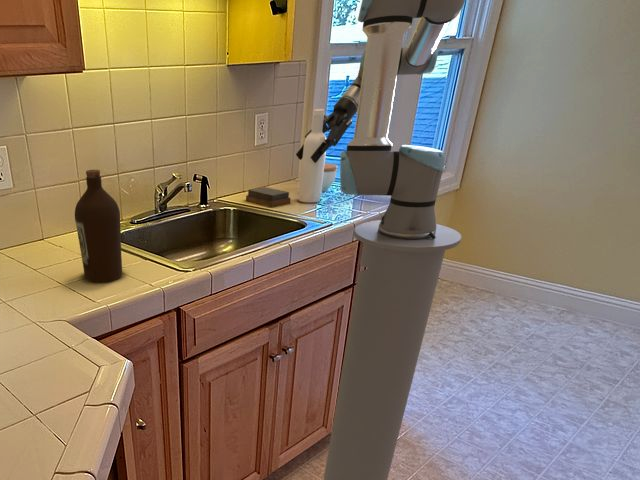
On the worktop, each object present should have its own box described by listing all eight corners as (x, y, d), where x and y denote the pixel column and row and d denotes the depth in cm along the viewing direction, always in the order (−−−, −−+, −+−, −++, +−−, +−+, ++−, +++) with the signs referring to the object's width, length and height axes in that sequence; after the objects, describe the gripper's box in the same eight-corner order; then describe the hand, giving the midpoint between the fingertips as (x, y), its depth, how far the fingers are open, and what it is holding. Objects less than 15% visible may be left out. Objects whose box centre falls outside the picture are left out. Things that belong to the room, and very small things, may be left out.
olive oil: (120, 266, 130) (112, 165, 118) (128, 280, 122) (120, 172, 109) (80, 271, 128) (66, 169, 116) (85, 286, 119) (71, 176, 107)
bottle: (312, 196, 188) (322, 108, 173) (324, 201, 182) (336, 109, 167) (293, 199, 186) (302, 109, 171) (305, 203, 180) (315, 110, 165)
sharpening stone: (290, 203, 182) (291, 192, 180) (271, 207, 178) (272, 195, 176) (263, 197, 193) (264, 186, 191) (245, 200, 189) (246, 189, 187)
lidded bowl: (329, 185, 205) (332, 157, 200) (339, 192, 194) (343, 162, 189) (298, 187, 205) (301, 158, 200) (306, 193, 194) (309, 163, 189)
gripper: (375, 113, 166) (329, 170, 169) (334, 110, 183) (293, 162, 186) (365, 96, 162) (318, 154, 165) (324, 95, 179) (282, 148, 182)
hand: (305, 158), depth 176 cm, fingers closed on bottle, 8 cm apart
